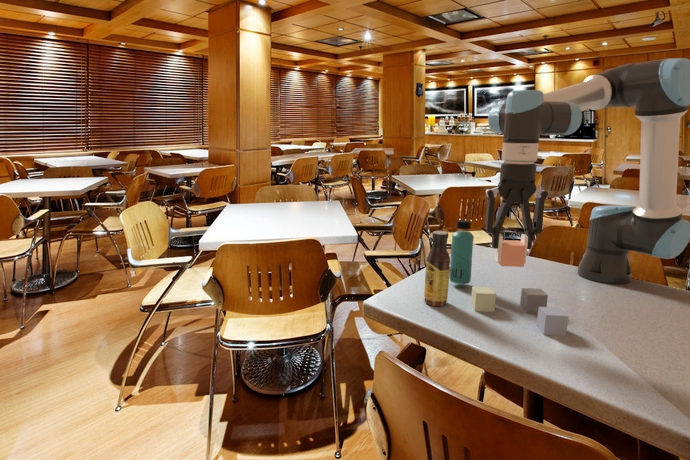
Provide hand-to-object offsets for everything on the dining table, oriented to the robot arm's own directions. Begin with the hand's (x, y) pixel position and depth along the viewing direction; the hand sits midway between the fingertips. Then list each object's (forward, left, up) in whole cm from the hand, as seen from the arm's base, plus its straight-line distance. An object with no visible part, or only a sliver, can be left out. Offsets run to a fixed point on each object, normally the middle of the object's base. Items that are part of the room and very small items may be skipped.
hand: (509, 261), depth 108 cm
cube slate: (-10, +3, -16) cm, 19 cm away
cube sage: (+3, -10, -16) cm, 19 cm away
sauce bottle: (+15, -12, -16) cm, 25 cm away
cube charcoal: (-10, -10, -16) cm, 21 cm away
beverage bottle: (+6, -27, -16) cm, 32 cm away
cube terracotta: (0, 0, 0) cm, 0 cm away
